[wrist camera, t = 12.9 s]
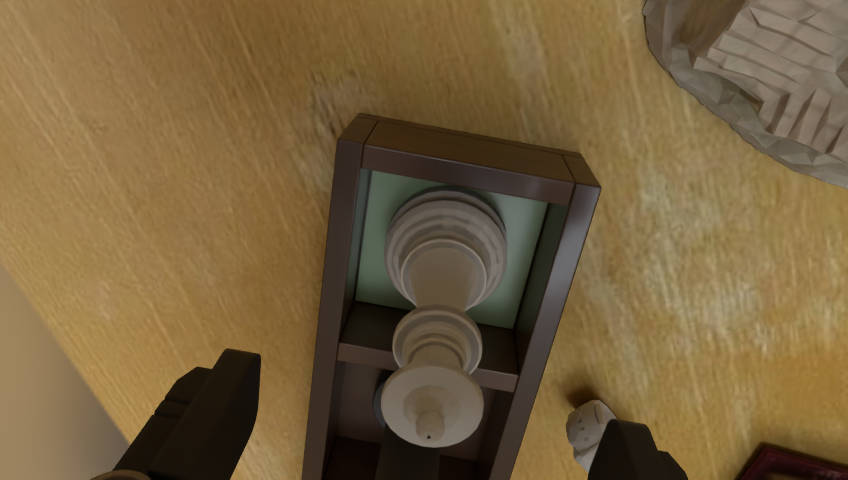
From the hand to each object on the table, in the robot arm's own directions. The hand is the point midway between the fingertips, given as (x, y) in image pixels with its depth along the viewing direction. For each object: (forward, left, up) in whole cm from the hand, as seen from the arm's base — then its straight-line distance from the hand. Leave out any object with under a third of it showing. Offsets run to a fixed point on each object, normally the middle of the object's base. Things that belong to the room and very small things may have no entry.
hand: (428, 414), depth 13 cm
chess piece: (0, 0, -9) cm, 9 cm away
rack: (0, -7, -10) cm, 12 cm away
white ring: (+8, -7, -10) cm, 15 cm away
